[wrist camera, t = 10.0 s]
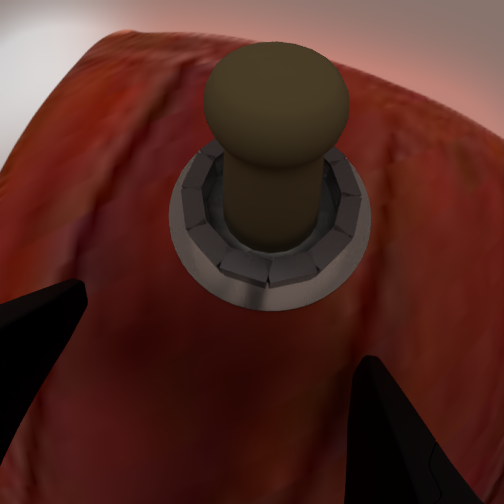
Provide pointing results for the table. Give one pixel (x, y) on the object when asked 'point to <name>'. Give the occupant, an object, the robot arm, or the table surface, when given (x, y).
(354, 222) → the iron collar
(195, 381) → the table surface
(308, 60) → the cork
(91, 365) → the table surface
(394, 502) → the robot arm
